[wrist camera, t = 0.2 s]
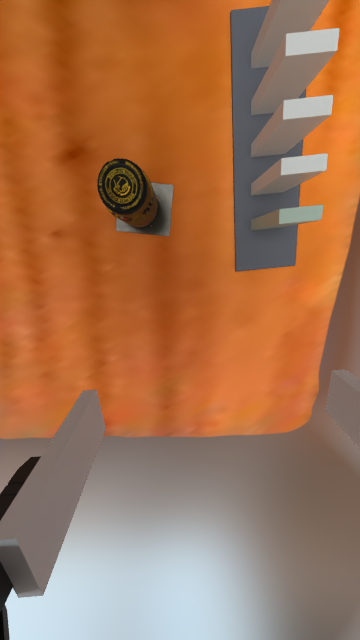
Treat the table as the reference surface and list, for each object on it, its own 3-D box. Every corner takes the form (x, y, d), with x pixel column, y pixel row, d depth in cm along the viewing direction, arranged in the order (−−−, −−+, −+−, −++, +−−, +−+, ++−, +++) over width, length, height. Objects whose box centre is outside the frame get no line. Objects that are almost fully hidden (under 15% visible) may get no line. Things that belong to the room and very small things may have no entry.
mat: (230, 13, 28) (231, 10, 28) (309, 4, 28) (311, 1, 28) (235, 271, 38) (236, 271, 37) (294, 265, 38) (295, 265, 37)
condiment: (117, 178, 33) (87, 142, 22) (173, 185, 34) (173, 153, 22) (116, 230, 35) (89, 222, 24) (169, 236, 36) (167, 230, 25)
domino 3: (250, 144, 32) (283, 100, 22) (285, 140, 32) (333, 94, 22) (251, 157, 32) (283, 119, 23) (285, 153, 32) (331, 114, 23)
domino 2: (251, 100, 30) (286, 33, 21) (287, 96, 30) (339, 27, 21) (251, 115, 31) (285, 55, 21) (286, 111, 31) (337, 50, 21)
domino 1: (251, 52, 29) (289, -44, 19) (289, 48, 29) (346, -50, 19) (251, 68, 29) (288, -18, 20) (288, 64, 29) (344, -24, 20)
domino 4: (250, 183, 33) (281, 158, 24) (284, 180, 33) (327, 153, 24) (251, 195, 34) (280, 175, 24) (283, 192, 34) (326, 170, 24)
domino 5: (250, 219, 35) (279, 209, 26) (282, 216, 35) (323, 204, 25) (250, 230, 36) (279, 224, 26) (282, 227, 35) (321, 219, 26)
